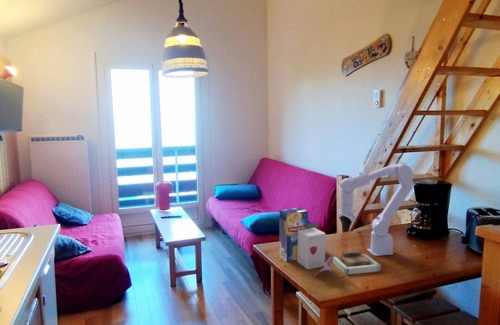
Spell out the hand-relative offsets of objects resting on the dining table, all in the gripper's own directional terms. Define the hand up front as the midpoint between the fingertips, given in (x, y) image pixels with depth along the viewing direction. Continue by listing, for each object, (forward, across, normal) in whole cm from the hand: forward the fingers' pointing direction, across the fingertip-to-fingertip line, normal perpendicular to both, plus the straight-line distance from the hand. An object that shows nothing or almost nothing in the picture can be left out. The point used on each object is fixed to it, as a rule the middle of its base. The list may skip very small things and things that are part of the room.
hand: (345, 231), depth 175 cm
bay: (+9, +18, -4) cm, 20 cm away
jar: (+10, -5, -16) cm, 19 cm away
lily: (+10, +24, -20) cm, 33 cm away
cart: (+10, +18, -4) cm, 21 cm away
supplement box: (+10, +12, -22) cm, 27 cm away
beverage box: (+10, +2, -27) cm, 29 cm away
